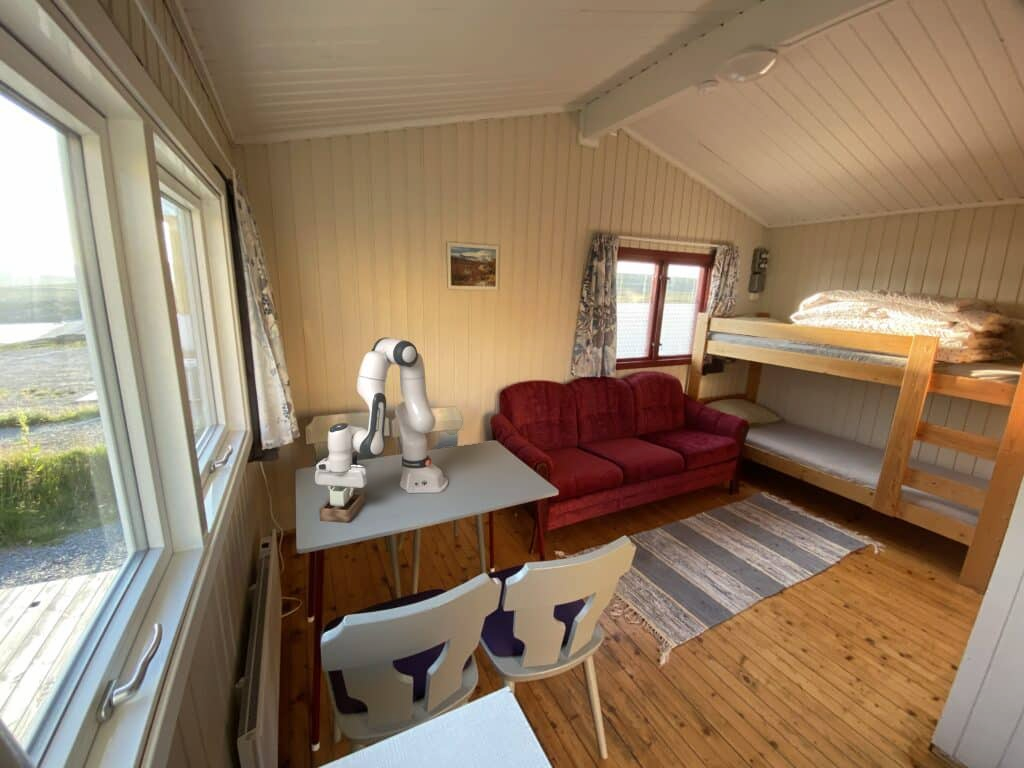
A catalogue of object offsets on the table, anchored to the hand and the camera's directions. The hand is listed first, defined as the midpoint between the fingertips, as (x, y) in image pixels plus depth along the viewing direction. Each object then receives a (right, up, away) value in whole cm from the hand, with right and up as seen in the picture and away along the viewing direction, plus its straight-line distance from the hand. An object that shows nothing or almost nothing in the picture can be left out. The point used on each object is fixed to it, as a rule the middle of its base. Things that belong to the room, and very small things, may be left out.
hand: (341, 495), depth 175 cm
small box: (-12, +1, +35) cm, 37 cm away
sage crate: (0, -2, 0) cm, 2 cm away
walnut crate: (0, -8, +2) cm, 8 cm away
